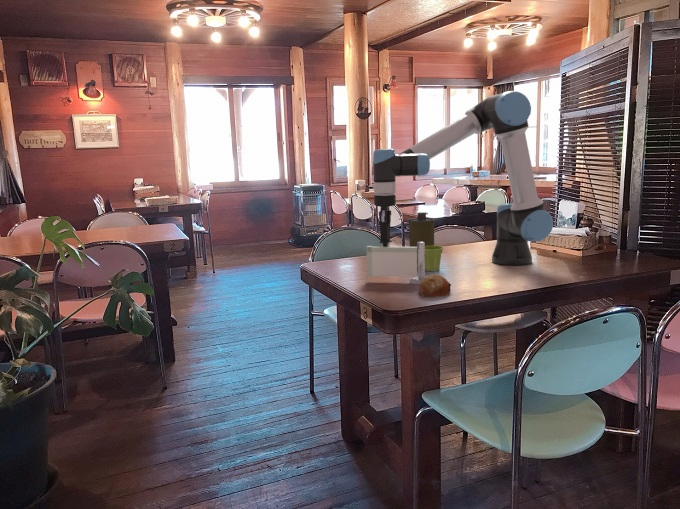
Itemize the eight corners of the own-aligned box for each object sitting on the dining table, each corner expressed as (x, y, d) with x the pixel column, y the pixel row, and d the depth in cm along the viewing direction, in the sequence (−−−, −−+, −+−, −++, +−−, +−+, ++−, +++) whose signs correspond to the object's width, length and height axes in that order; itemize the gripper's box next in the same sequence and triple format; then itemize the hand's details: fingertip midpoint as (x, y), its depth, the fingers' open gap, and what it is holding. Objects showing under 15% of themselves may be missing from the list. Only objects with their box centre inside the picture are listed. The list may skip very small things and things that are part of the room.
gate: (417, 276, 193) (416, 246, 191) (416, 277, 191) (416, 246, 189) (368, 275, 197) (367, 245, 195) (367, 276, 196) (366, 246, 194)
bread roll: (421, 301, 182) (410, 280, 180) (448, 286, 182) (438, 265, 180) (428, 309, 172) (417, 287, 171) (457, 293, 172) (446, 271, 171)
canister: (434, 258, 233) (433, 211, 230) (435, 263, 223) (435, 213, 220) (408, 259, 235) (407, 211, 231) (408, 264, 224) (407, 214, 221)
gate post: (433, 281, 193) (432, 241, 190) (425, 285, 188) (425, 244, 185) (417, 279, 196) (417, 240, 194) (409, 283, 191) (409, 243, 189)
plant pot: (428, 273, 205) (428, 250, 204) (413, 269, 213) (413, 247, 212) (448, 270, 209) (448, 247, 208) (433, 266, 218) (433, 244, 216)
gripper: (376, 192, 200) (378, 257, 204) (371, 196, 188) (372, 264, 192) (397, 192, 198) (398, 257, 203) (393, 195, 186) (394, 264, 190)
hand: (386, 261), depth 197 cm, fingers closed
